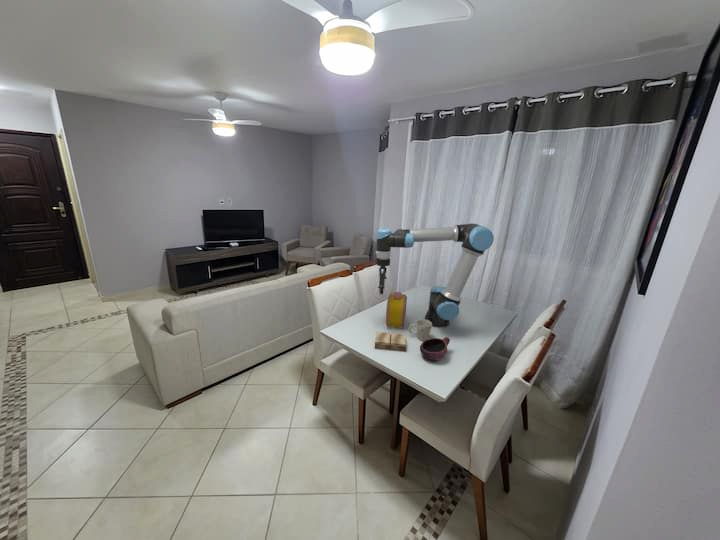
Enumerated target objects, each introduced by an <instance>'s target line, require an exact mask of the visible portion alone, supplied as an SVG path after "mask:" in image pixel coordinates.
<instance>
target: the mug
mask: <svg viewBox="0 0 720 540" xmlns="http://www.w3.org/2000/svg"><path fill="white" fill-rule="evenodd" d="M412 327H416V333H415V332H413V331H412V330H411V329H412ZM432 328H433V326H432V322H430V321H429V320H425V318H424V319H421V318H420V319H418V320H417V321H416V323H411V324H410V325H409V326H408V329H407V330H408V332H409V333H410V334H411V335H412V336H413V335H414V336H416V337H417V340H418V341H420V342H423V341H425V340H428V339H430V335H431V330H432Z"/></svg>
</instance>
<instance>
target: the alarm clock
mask: <svg viewBox="0 0 720 540" xmlns="http://www.w3.org/2000/svg"><path fill="white" fill-rule="evenodd" d="M407 300H408V297H407V295H406V294H405V293H404V294H403V293H402V292H401V291H395V292H394V293H393V292H390V293H389V294H388V298H387V303H386V311H385V326H387V327H392V328H393V327H394V328H400V329H403V328H405V327H404V326H405V323H406V313H407V311H406V310H407Z"/></svg>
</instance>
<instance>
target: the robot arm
mask: <svg viewBox="0 0 720 540" xmlns="http://www.w3.org/2000/svg"><path fill="white" fill-rule="evenodd" d="M376 232H377V233H376V251H375V254H376V259H375V264H376V266H378V267H379V269H378V273H379V274H378V276H379V280H378V281H379V284H378V286H377V288H378V299H379V300H384V299H385V291H386V280H387V275H386V274H387V267H389V266H390V264H391V253H392V252H391V249H392V248H399V249H400V248H402V249H403V248H404V249H405V248H406V249H408V248H413V247H414V244H415V243H419V242H420V243H421V242H422V243H423V242H426V243H427V242H441V241H442V242H443V241H453V242H454V243H458V242H459V243H462V244H461V246H460V247H461V250H462V251H461V254H460V255H459V258H458V260H457V262H456V265H455V267H454V269H453V271H452V273H451V275H450V277H449V281H448V282H447V284H446V286H440V285H439V286H438V285H437V286H432V287H431V288H430V291H429V294H430V295H429V302H428V309H427V312H426V313H425V316H424V319H425V320H429V321H430V322H432V327H436V328H446V327H448V326H449V325H450V320H451V321H452V320H454V319H456V318H457V317H458V316H459V314H460V307H459V306H460V303H461V301H462V298H461V295H462V293H463V291H464V288H465V286H466V284H467V282H468V280H469V277H470V275H471V273H472V271H473V270H474V267H475V265H476V263H477V260H478V259H479V257H480V256H483V255H484V254H485V251H486V250H488V249H490V248H491V246H492V245H493V244H494V239H495V238H494V234H493V232H492V231H491V229H490V228H488V227H486V226H484V225H480V224H478V223H462V224H455V225H453V226H447V227H446V226H445V227H427V228H425V227H424V228H409V229H403V228H397V229H395V230H394V231H393V232H392V230H391V229H390V228H389V229H388V228H380V229H378V230H377V231H376Z"/></svg>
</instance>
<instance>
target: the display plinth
mask: <svg viewBox="0 0 720 540" xmlns="http://www.w3.org/2000/svg"><path fill="white" fill-rule="evenodd" d="M406 339H407V338H406V334H405V333H393V332H391V333H390V332H383V331H376V332H375V339H374V350H382V351H383V350H384V351H394V352H405V353H406V349H407V340H406Z"/></svg>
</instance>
